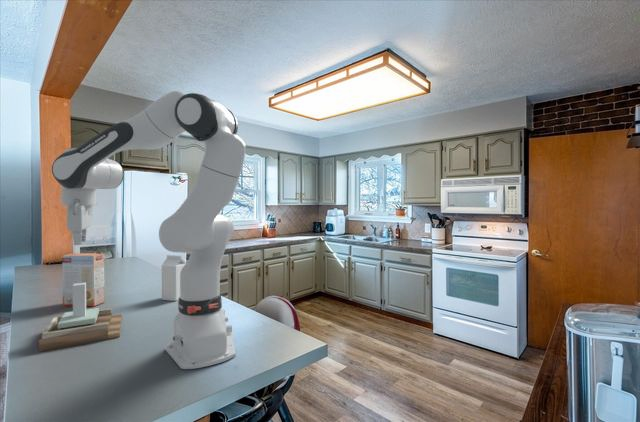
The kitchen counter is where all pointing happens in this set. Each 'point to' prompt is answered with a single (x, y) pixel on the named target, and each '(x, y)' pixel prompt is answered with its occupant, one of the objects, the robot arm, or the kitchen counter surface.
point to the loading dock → (81, 332)
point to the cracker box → (83, 277)
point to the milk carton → (171, 277)
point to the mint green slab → (79, 310)
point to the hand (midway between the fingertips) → (80, 243)
